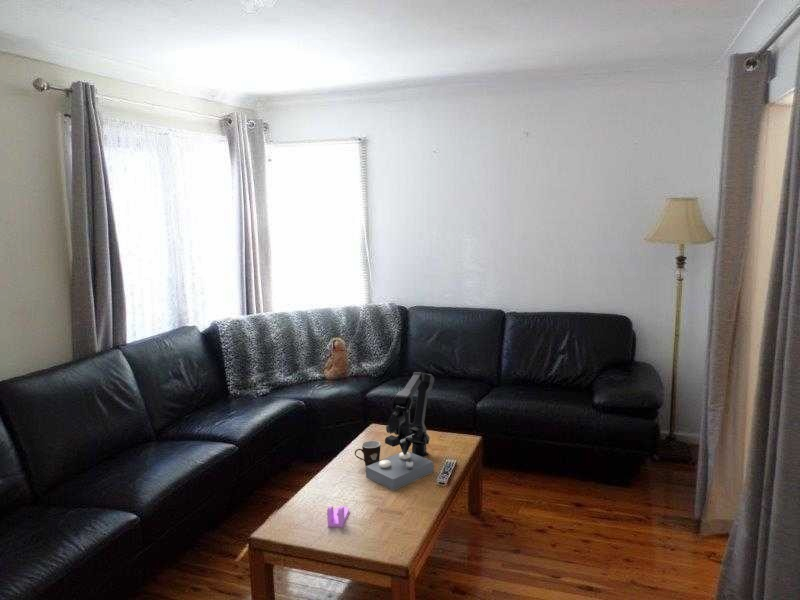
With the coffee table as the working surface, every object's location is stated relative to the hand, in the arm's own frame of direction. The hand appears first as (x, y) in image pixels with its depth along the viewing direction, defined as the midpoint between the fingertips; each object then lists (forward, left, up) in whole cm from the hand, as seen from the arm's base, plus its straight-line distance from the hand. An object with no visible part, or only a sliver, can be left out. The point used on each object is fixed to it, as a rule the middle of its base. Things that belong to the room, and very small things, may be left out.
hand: (404, 454), depth 264 cm
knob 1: (+12, 0, -4) cm, 13 cm away
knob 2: (0, 0, -4) cm, 4 cm away
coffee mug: (+9, -15, -7) cm, 19 cm away
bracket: (+47, +13, -7) cm, 49 cm away
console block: (+6, +3, -7) cm, 10 cm away
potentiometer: (+6, +10, -2) cm, 11 cm away
